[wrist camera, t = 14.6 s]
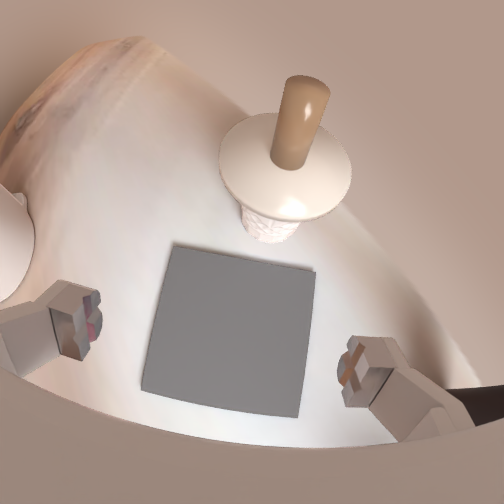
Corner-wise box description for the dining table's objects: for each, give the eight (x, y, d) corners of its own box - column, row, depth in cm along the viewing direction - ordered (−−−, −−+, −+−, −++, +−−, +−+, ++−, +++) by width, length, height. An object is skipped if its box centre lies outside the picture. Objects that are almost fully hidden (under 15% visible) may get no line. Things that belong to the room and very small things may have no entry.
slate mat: (142, 389, 26) (140, 390, 26) (174, 248, 33) (173, 246, 32) (296, 417, 27) (297, 417, 26) (314, 273, 33) (315, 272, 33)
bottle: (447, 433, 26) (570, 437, 8) (408, 445, 26) (540, 467, 7) (450, 385, 29) (576, 365, 11) (411, 393, 28) (551, 384, 10)
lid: (205, 208, 24) (200, 127, 15) (232, 113, 28) (238, 39, 20) (348, 234, 24) (400, 170, 16) (344, 135, 29) (374, 70, 21)
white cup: (235, 190, 36) (241, 133, 27) (297, 191, 37) (319, 138, 28) (236, 248, 33) (243, 200, 24) (305, 248, 34) (333, 203, 25)
